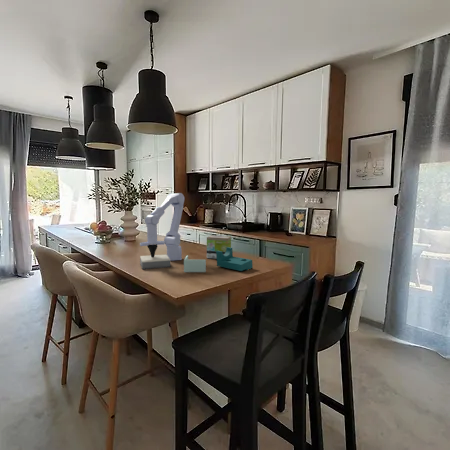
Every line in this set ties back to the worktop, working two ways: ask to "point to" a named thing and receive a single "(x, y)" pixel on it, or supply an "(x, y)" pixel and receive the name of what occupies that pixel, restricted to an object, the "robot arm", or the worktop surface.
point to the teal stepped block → (232, 261)
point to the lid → (154, 258)
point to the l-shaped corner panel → (194, 265)
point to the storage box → (154, 264)
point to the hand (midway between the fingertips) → (152, 256)
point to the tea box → (217, 245)
